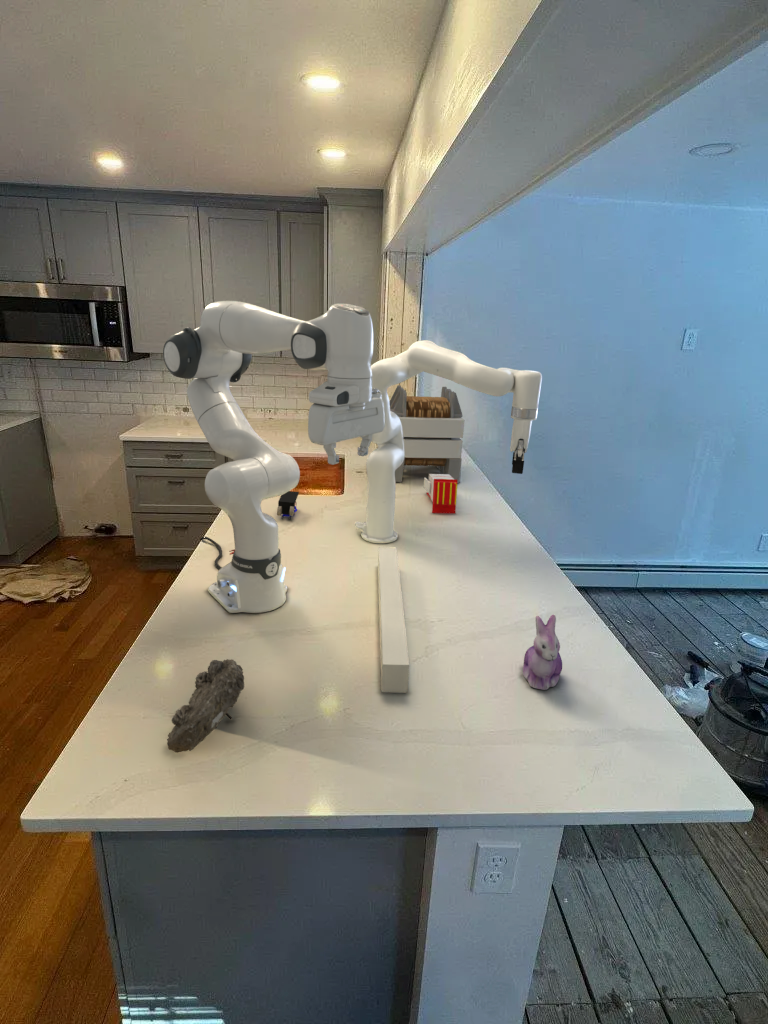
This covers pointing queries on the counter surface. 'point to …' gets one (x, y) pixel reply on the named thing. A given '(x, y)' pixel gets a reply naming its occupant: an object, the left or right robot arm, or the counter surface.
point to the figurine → (543, 656)
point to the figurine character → (287, 504)
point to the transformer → (430, 431)
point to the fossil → (206, 705)
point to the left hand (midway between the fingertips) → (348, 459)
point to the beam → (391, 624)
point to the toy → (442, 492)
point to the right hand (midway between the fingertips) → (517, 469)
